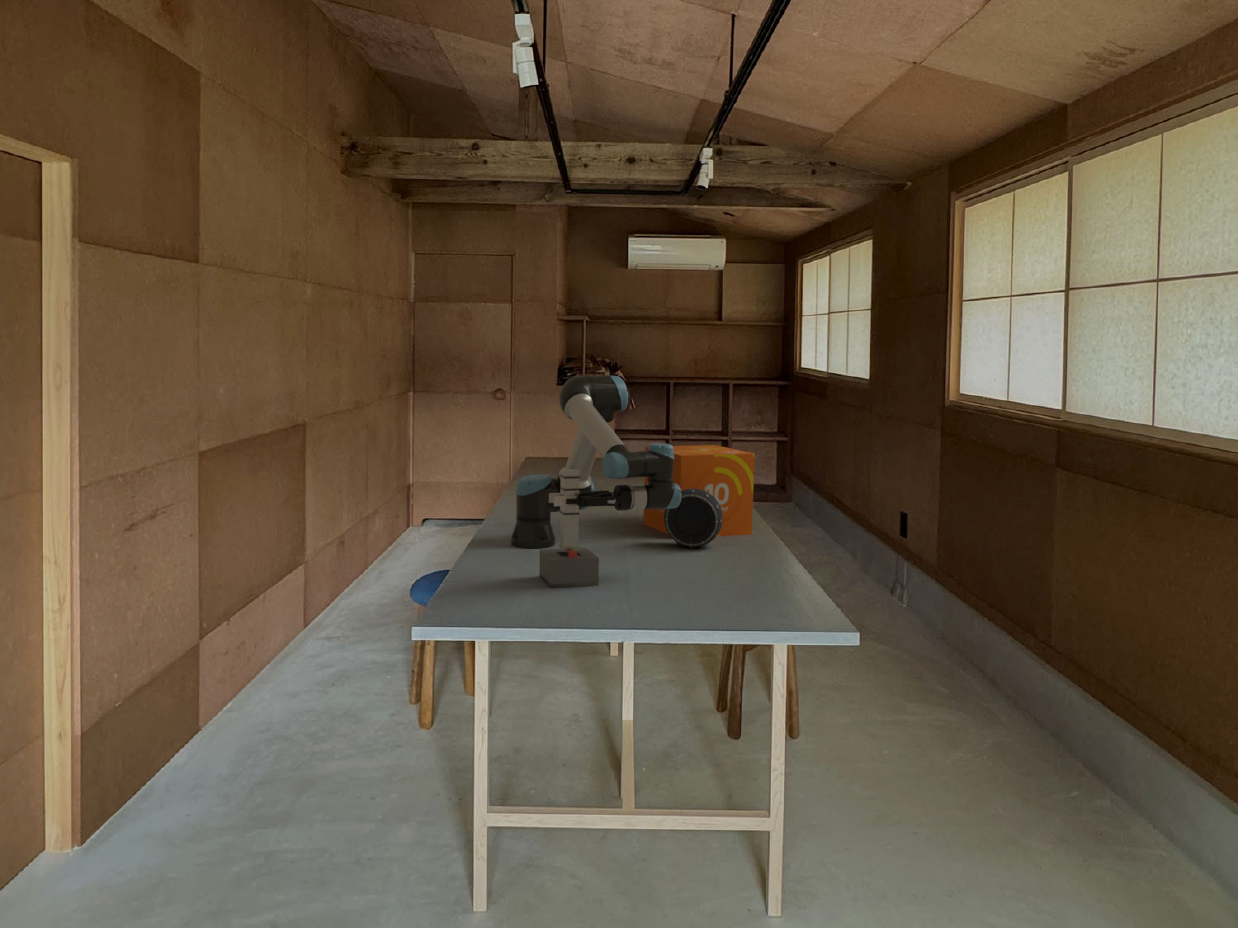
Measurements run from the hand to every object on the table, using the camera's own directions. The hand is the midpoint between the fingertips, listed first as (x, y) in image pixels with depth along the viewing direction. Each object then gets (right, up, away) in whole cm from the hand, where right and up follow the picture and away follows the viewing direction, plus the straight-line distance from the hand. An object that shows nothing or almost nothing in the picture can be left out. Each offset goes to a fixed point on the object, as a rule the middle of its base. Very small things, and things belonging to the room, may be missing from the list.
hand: (551, 499), depth 277 cm
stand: (+5, -24, +5) cm, 25 cm away
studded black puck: (+44, -18, +56) cm, 74 cm away
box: (+48, -15, +88) cm, 101 cm away
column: (+5, -14, +3) cm, 16 cm away
